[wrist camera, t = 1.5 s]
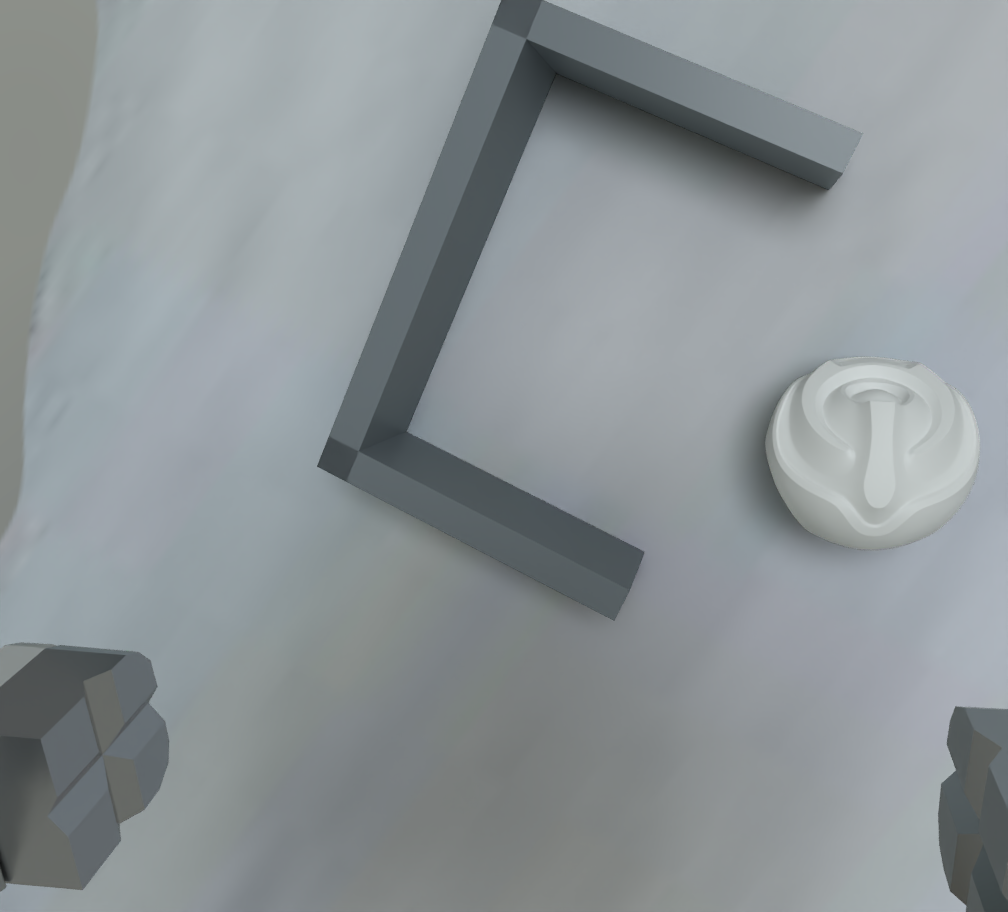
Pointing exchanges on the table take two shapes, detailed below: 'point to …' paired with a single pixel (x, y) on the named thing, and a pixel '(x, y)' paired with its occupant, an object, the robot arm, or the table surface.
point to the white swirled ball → (873, 451)
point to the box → (456, 249)
